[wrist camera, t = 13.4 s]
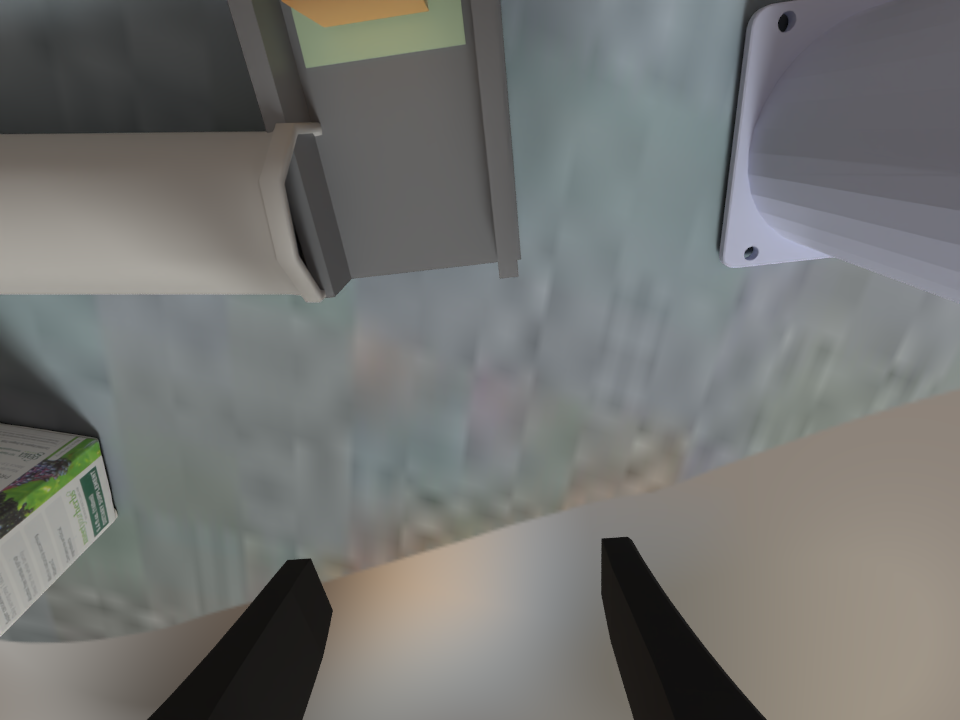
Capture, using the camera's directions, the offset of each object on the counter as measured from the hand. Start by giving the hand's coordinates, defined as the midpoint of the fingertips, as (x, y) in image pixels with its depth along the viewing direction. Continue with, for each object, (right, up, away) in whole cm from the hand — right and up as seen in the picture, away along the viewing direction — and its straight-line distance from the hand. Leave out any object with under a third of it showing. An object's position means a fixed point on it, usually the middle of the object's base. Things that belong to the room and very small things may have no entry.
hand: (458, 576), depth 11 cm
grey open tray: (-2, +15, +4) cm, 15 cm away
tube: (-17, +11, +6) cm, 21 cm away
